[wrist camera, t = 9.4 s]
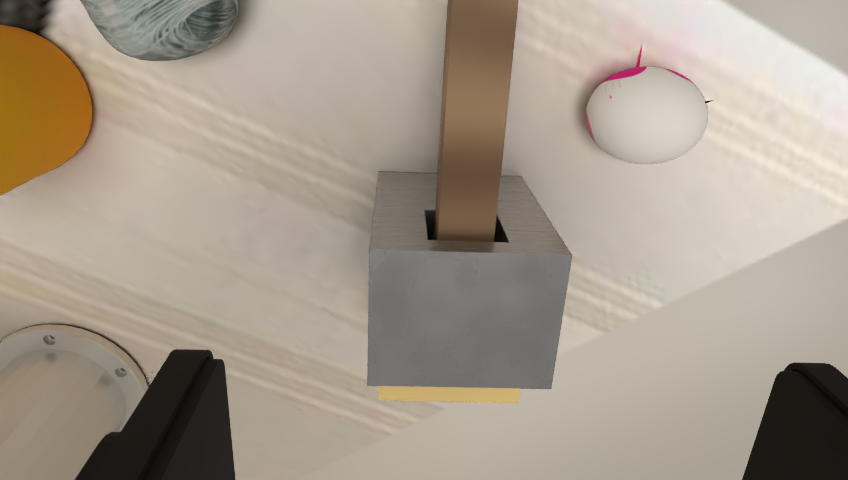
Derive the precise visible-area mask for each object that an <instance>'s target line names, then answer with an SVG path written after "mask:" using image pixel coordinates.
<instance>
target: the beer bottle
mask: <svg viewBox="0 0 848 480" xmlns="http://www.w3.org/2000/svg"><path fill="white" fill-rule="evenodd" d="M91 123H92V104H91V98H90V94H89V91H88V88H87V85H86V83H85V81H84V79H83V77H82V75H81V73H80V71H79V70H78V69H77V67H76V66H75V65H74V63H73V62H72V61H71V60H70V59H69V58H68V57H67V56H66V55H65V54H64V53H63V52H62V51H61V50H60V49H59V48H58V47H56V46H55V45H54V44H52V43H51V42H49V41H48V40H47V39H45V38H43V37H41V36H39V35H37V34H35V33H33V32H30V31H27V30H24V29H21V28H17V27H12V26H5V25H0V196H1V195H3V194H4V193H6V192H8V191H10V190H12V189H14V188H16V187H18V186H20V185H22V184H24V183H26V182H28V181H29V180H31V179H33V178H35V177H38V176H40V175H42V174H44V173H47V172H49V171H51V170H53V169H55V168H57V167H59V166H61V165H62V164H64V163H65V162H66V161H68V160H69V159H70V158H72V157H73V156H74V155H75V154H76V153H77V151H78V150H79V149H80V148H81V147H82V145H83V144H84V142H85V140H86V138H87V136H88V134H89V131H90V127H91Z"/></svg>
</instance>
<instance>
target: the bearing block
mask: <svg viewBox="0 0 848 480" xmlns="http://www.w3.org/2000/svg"><path fill="white" fill-rule="evenodd" d="M436 191H437V173H410V172H383V171H379V173H378V181H377V190H376V198H375V207H374V215H373V224H372V232H371V240H370V249H369V311H368V376H367V386H411V387H465V388H519V389H525V388H526V389H551V386H552V380H553V374H554V367H555V361H556V355H557V348H558V342H559V336H560V329H561V323H562V316H563V310H564V304H565V297H566V291H567V285H568V278H569V272H570V266H571V259H572V254H571V253H570V251H569V250H568V248H567V247H566V245H565V244H564V242H563V240H562V239H561V237H560V236H559V234H558V233H557V231H556V230H555V228H554V226H553V225H552V223H551V222H550V220H549V219H548V217H547V216H546V214H545V212H544V211H543V209H542V208H541V206H540V205H539V203H538V201H537V200H536V198H535V197H534V195H533V194H532V192H531V191H530V189H529V187H528V186H527V184H526V183H525V181H524V180H523V178H522V177H518V176H500V186H499V196H498V206H497V216H496V226H495V236H494V242H476V241H444V240H434V225H435V208H436Z"/></svg>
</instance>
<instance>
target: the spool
mask: <svg viewBox="0 0 848 480" xmlns="http://www.w3.org/2000/svg"><path fill="white" fill-rule="evenodd" d="M80 1H81V2H82V4H83V5H84V7H85V9H86V10H87V12H88V14H89V16H90V18H91V20H92V21H93V23H94V24H95V26H96V27H97V29H98V30H99V31H100V33H101V34H102V35H103V37H104V38H105V39H106V41H107V42H108V43H109V44H110V45H111V46H112V47H114V48H115V49H116V50H118V51H119V52H121V53H123V54H125V55H127V56H130V57H134V58H137V59H140V60H149V61H169V60H177V59H182V58H186V57H189V56H193V55H196V54H199V53H201V52H203V51H205V50H207V49H209V48H212V47H214V46H215V45H217V44H218V43H220V42H221V41H222V40H223V39H224V38H226V37H227V36H228V35H229V33H230V32H231V30H232V28H233V26H234V24H235V21H236V19H237V15H238V0H80Z"/></svg>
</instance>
